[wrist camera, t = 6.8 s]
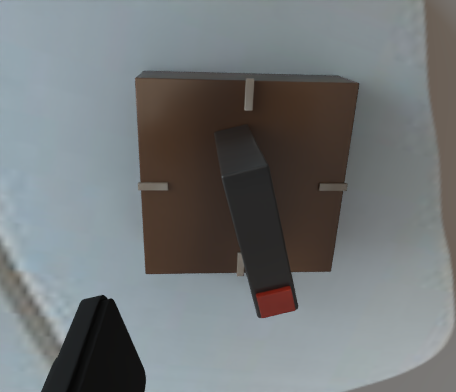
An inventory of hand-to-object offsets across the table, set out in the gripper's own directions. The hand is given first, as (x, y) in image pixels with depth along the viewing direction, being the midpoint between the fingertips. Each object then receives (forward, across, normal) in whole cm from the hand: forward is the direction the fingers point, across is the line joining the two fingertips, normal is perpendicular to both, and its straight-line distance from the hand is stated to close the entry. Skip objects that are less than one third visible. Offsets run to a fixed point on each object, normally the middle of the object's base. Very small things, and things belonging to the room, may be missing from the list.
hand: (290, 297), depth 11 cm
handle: (+9, 0, +1) cm, 9 cm away
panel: (+12, 0, +1) cm, 13 cm away
